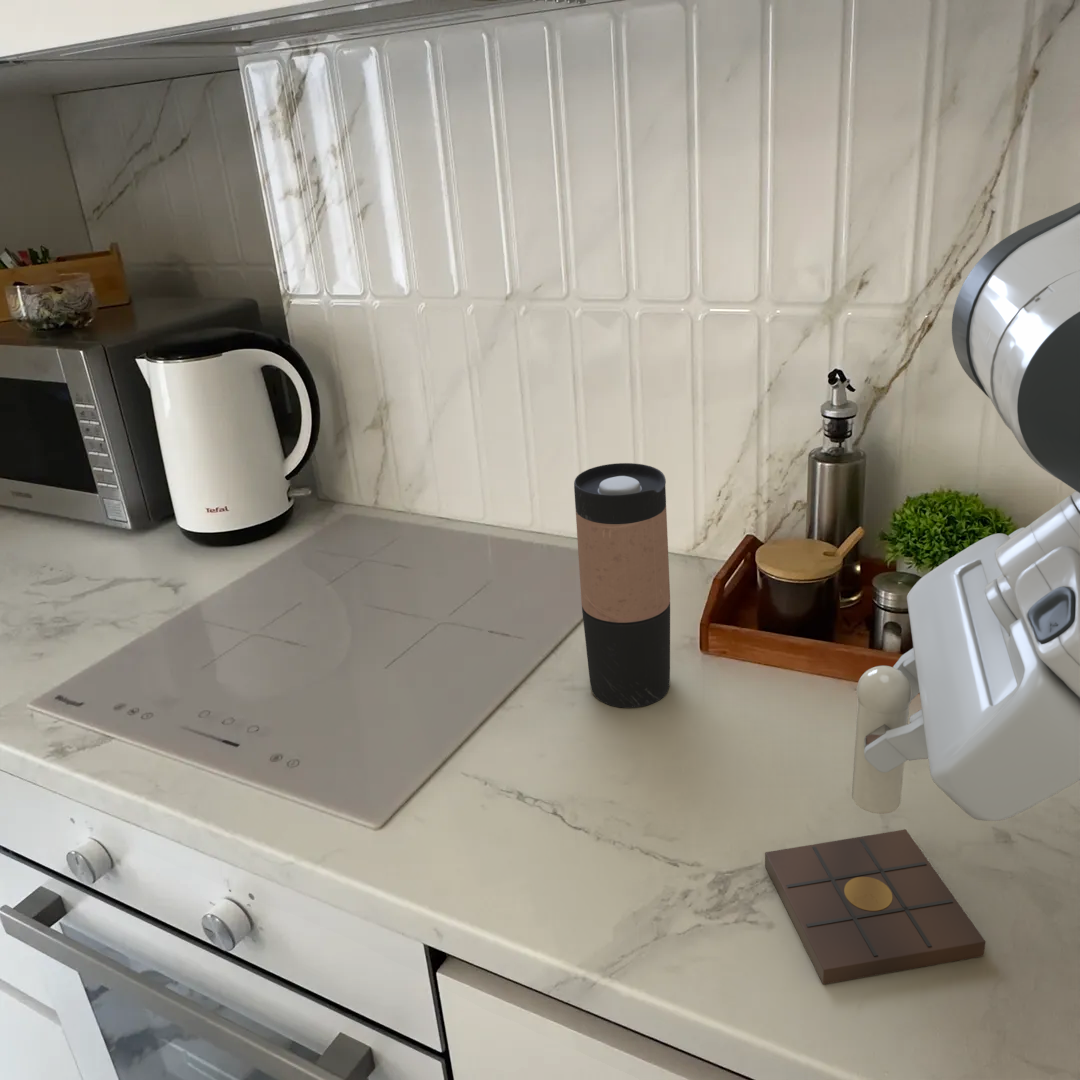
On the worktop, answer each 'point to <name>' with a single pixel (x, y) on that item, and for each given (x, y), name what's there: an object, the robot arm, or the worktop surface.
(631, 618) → the travel mug
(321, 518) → the worktop surface
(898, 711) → the white round-top peg
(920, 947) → the board
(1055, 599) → the robot arm
